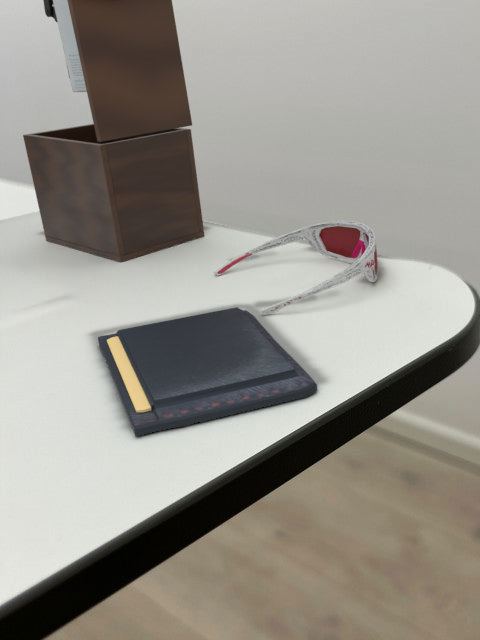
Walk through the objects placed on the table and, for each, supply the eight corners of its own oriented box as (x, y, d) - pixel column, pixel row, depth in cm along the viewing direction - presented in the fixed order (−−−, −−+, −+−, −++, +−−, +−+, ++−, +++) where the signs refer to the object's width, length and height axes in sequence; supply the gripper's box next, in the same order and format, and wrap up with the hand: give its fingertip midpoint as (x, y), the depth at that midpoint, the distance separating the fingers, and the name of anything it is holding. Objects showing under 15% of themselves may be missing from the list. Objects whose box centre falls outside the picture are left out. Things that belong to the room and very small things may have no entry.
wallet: (319, 374, 61) (122, 417, 55) (320, 396, 61) (126, 440, 56) (250, 296, 77) (94, 324, 72) (252, 314, 78) (98, 342, 73)
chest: (46, 241, 106) (22, 134, 100) (128, 219, 115) (111, 120, 109) (120, 262, 96) (99, 145, 90) (204, 236, 105) (191, 129, 99)
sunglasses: (411, 284, 84) (403, 241, 81) (271, 343, 78) (259, 299, 76) (340, 246, 98) (332, 209, 95) (217, 294, 92) (205, 255, 89)
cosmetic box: (129, 87, 99) (112, -17, 94) (117, 91, 95) (99, -17, 90) (82, 89, 100) (63, -14, 94) (69, 93, 96) (48, -15, 90)
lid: (59, -35, 83) (97, -44, 78) (162, -35, 92) (201, -43, 87) (97, 141, 90) (133, 142, 85) (188, 125, 99) (225, 125, 95)
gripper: (-15, -128, 90) (28, 79, 100) (79, -153, 78) (118, 83, 88) (43, -123, 95) (79, 73, 105) (140, -146, 84) (170, 77, 93)
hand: (97, 77), depth 97 cm, fingers closed on cosmetic box, 7 cm apart
